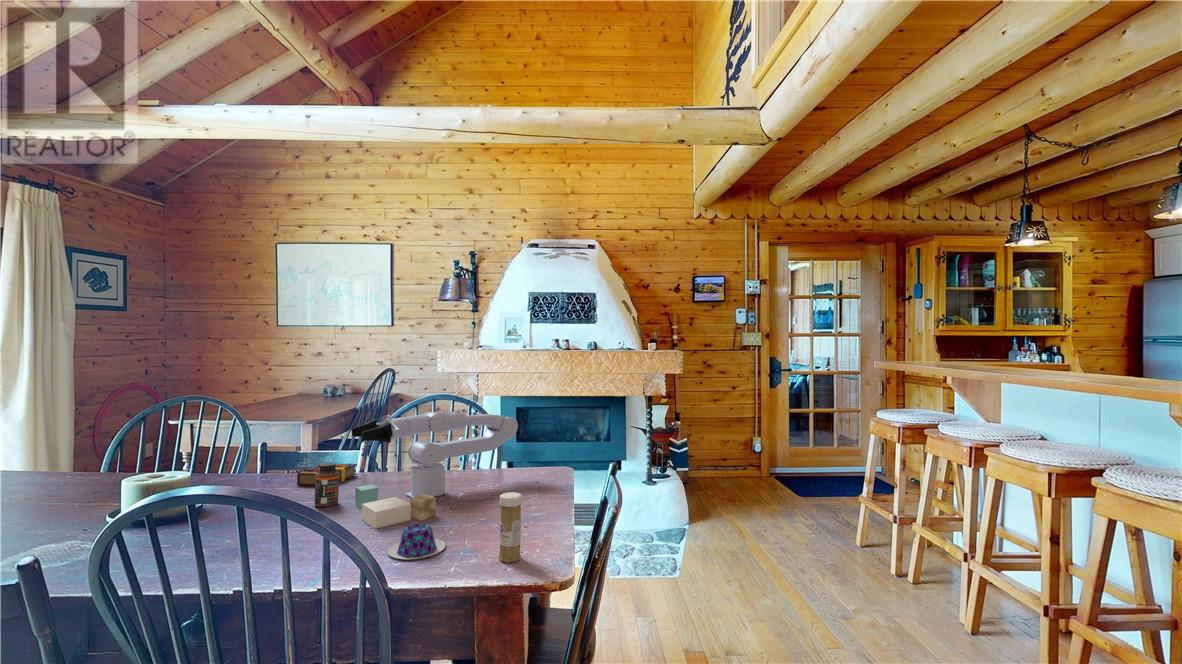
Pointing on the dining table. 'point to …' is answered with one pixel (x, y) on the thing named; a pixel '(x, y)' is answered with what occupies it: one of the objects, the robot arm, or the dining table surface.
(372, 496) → the teal block
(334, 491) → the supplement bottle
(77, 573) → the dining table surface
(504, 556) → the sprinkles bottle
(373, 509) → the base slab
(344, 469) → the decorative book
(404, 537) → the purple patterned hat
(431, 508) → the oak block
